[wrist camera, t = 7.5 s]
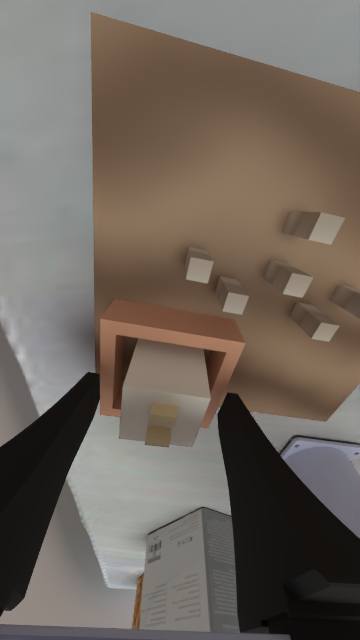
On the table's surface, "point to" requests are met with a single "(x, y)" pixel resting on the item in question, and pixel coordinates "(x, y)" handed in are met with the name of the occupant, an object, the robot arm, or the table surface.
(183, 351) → the connector plug
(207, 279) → the board
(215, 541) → the hard drive box
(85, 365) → the table surface
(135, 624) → the candy box
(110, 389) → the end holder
